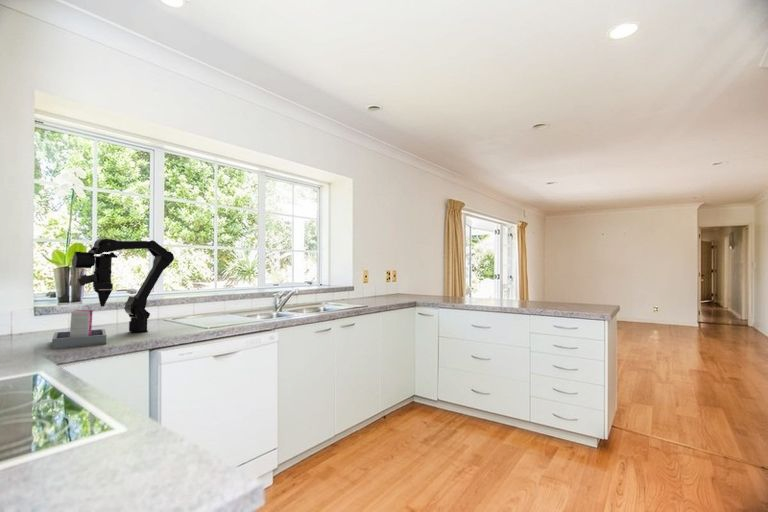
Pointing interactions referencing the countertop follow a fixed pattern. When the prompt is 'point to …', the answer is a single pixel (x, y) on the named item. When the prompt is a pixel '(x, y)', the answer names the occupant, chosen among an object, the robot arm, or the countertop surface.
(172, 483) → the countertop surface
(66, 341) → the tray
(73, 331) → the supplement box
